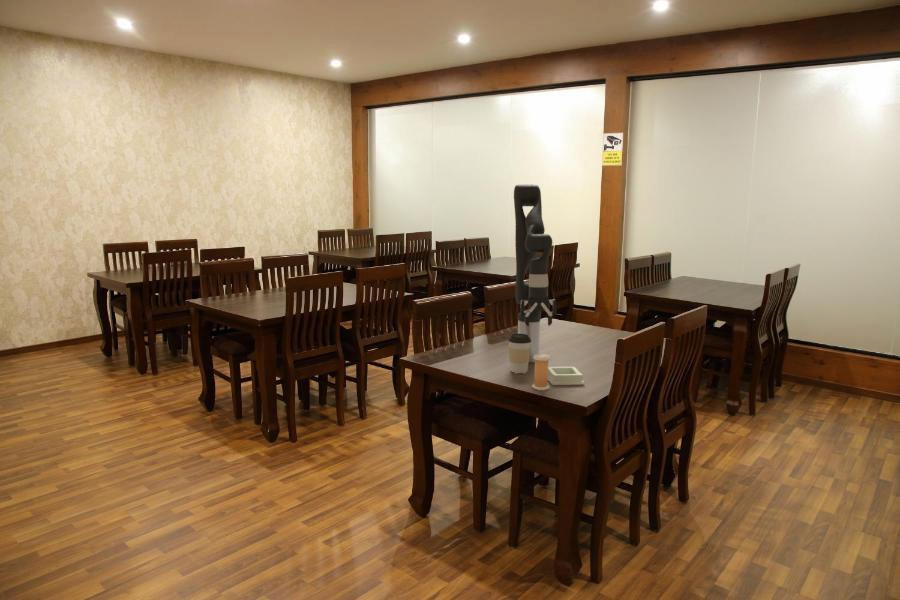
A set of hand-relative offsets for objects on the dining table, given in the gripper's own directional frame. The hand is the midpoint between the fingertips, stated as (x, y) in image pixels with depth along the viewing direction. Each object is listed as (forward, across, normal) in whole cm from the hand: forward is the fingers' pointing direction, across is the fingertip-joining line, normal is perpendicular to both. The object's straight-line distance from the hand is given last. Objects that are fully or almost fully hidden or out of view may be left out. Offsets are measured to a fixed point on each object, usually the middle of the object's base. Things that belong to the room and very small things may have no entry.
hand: (538, 325), depth 238 cm
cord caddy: (+19, -8, +13) cm, 24 cm away
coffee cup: (+18, +8, +2) cm, 20 cm away
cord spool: (+18, +2, +23) cm, 29 cm away
